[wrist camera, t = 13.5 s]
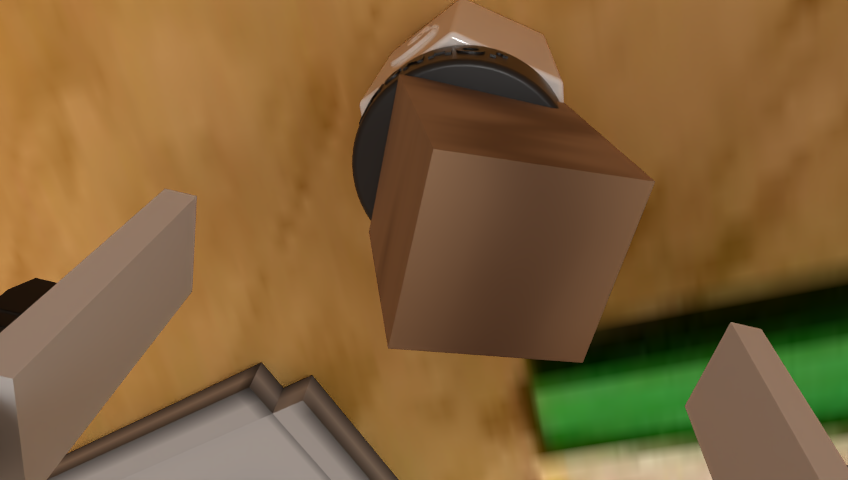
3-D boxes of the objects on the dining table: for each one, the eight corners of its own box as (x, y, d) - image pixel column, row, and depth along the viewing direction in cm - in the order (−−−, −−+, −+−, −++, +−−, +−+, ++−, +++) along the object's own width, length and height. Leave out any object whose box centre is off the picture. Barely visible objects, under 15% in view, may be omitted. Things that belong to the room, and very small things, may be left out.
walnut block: (564, 102, 23) (655, 181, 17) (518, 249, 26) (582, 362, 19) (399, 74, 21) (433, 148, 15) (369, 231, 24) (388, 348, 18)
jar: (496, -37, 31) (500, -3, 20) (586, 99, 33) (630, 191, 23) (356, 75, 34) (295, 154, 23) (448, 191, 37) (431, 309, 26)
